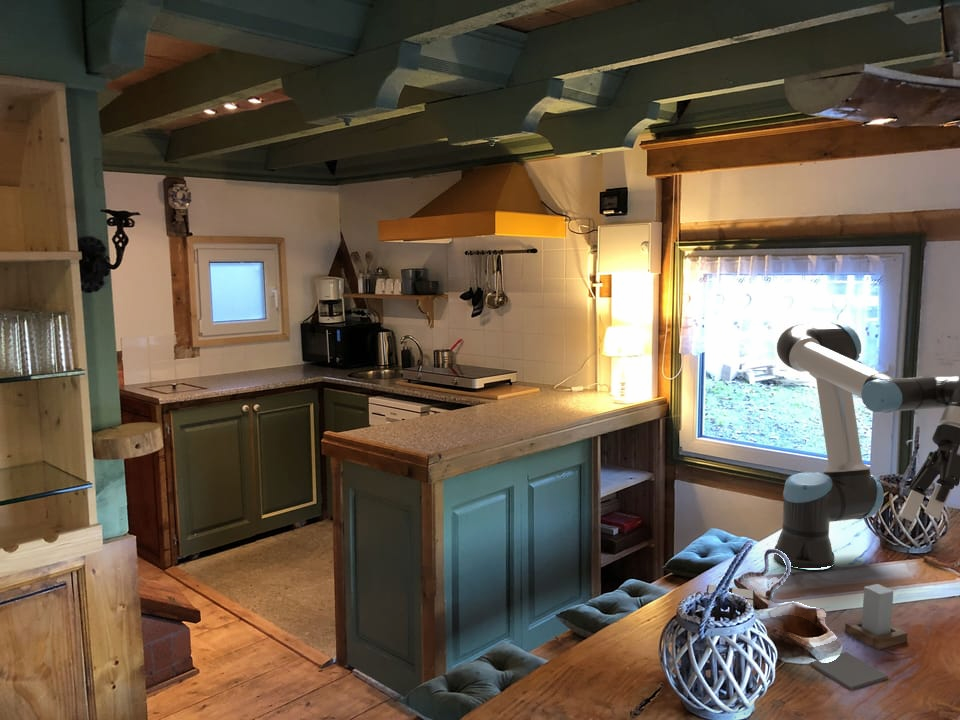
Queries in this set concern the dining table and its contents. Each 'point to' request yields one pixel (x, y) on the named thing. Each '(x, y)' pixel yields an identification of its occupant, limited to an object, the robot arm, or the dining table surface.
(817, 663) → the rubber pad
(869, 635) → the frame
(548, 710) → the dining table surface
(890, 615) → the slate block
